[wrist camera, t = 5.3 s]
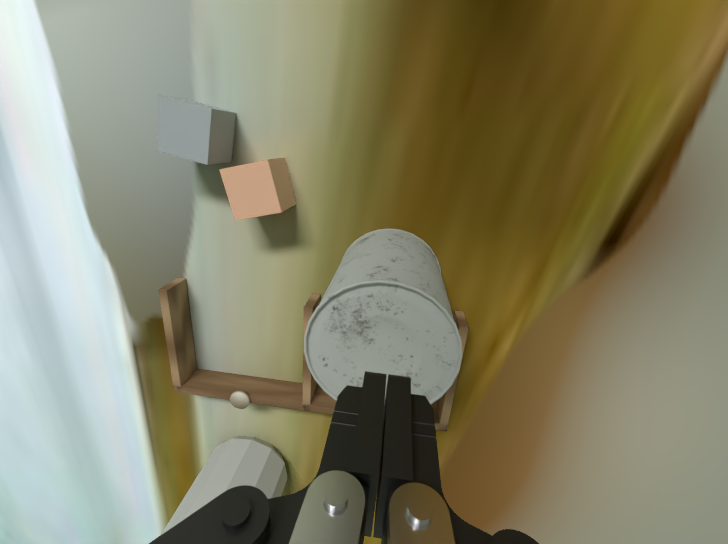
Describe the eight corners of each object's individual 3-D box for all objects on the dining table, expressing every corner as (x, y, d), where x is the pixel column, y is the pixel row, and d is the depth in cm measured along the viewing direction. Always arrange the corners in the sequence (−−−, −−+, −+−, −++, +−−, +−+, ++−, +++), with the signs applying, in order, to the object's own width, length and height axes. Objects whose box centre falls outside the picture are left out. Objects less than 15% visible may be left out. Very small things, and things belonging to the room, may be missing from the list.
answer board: (178, 277, 34) (155, 291, 31) (463, 311, 32) (469, 329, 29) (191, 378, 39) (172, 398, 36) (442, 413, 37) (445, 438, 34)
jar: (302, 483, 43) (237, 700, 26) (235, 492, 45) (136, 699, 28) (271, 424, 40) (176, 626, 23) (201, 437, 42) (68, 631, 25)
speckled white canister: (443, 227, 30) (468, 280, 18) (439, 324, 33) (457, 420, 22) (335, 228, 31) (295, 279, 19) (342, 322, 34) (310, 412, 23)
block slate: (190, 100, 28) (158, 94, 25) (236, 113, 28) (211, 108, 25) (188, 150, 30) (157, 151, 26) (231, 162, 30) (207, 164, 26)
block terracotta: (242, 166, 30) (219, 169, 26) (285, 157, 29) (267, 159, 25) (255, 211, 31) (235, 220, 27) (296, 203, 30) (281, 212, 27)
